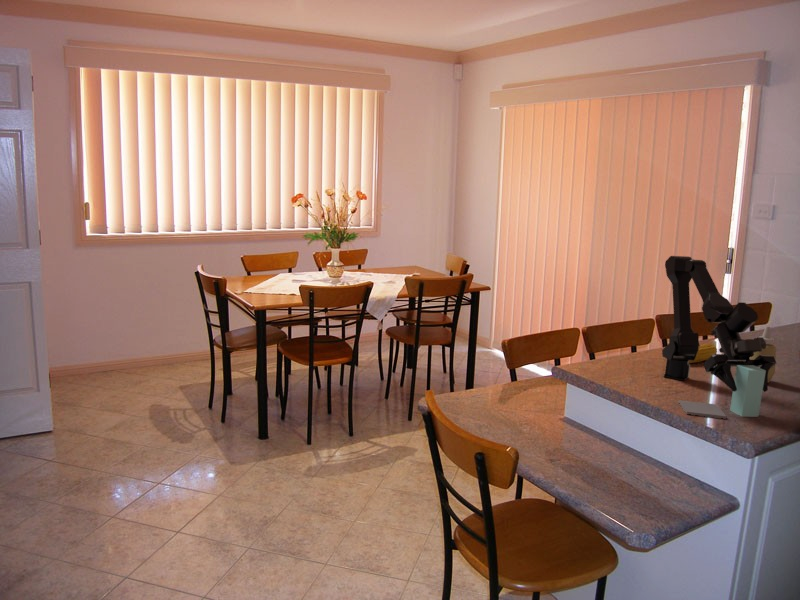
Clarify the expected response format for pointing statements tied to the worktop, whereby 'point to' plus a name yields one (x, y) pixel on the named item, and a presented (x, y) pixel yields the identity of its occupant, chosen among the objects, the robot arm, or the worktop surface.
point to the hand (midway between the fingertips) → (750, 391)
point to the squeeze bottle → (767, 351)
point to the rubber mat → (702, 409)
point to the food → (704, 353)
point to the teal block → (747, 390)
